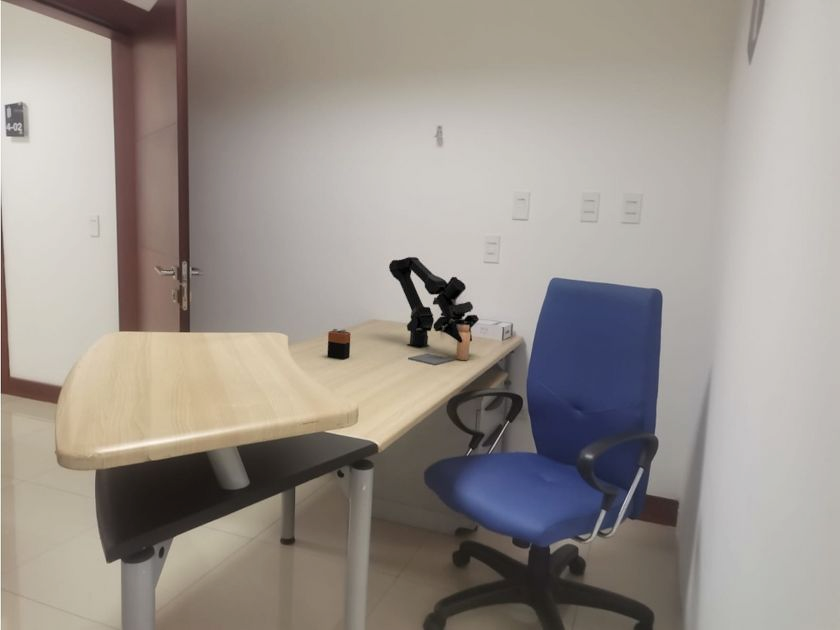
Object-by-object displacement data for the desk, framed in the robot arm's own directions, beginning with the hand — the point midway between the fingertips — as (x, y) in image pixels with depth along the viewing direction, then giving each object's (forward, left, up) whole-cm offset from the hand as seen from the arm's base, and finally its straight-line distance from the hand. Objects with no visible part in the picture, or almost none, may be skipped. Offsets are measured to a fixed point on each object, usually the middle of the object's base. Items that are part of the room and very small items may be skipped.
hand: (466, 341), depth 209 cm
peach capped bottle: (-1, 0, -7) cm, 7 cm away
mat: (-8, -10, -7) cm, 15 cm away
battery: (-31, -34, -7) cm, 47 cm away
